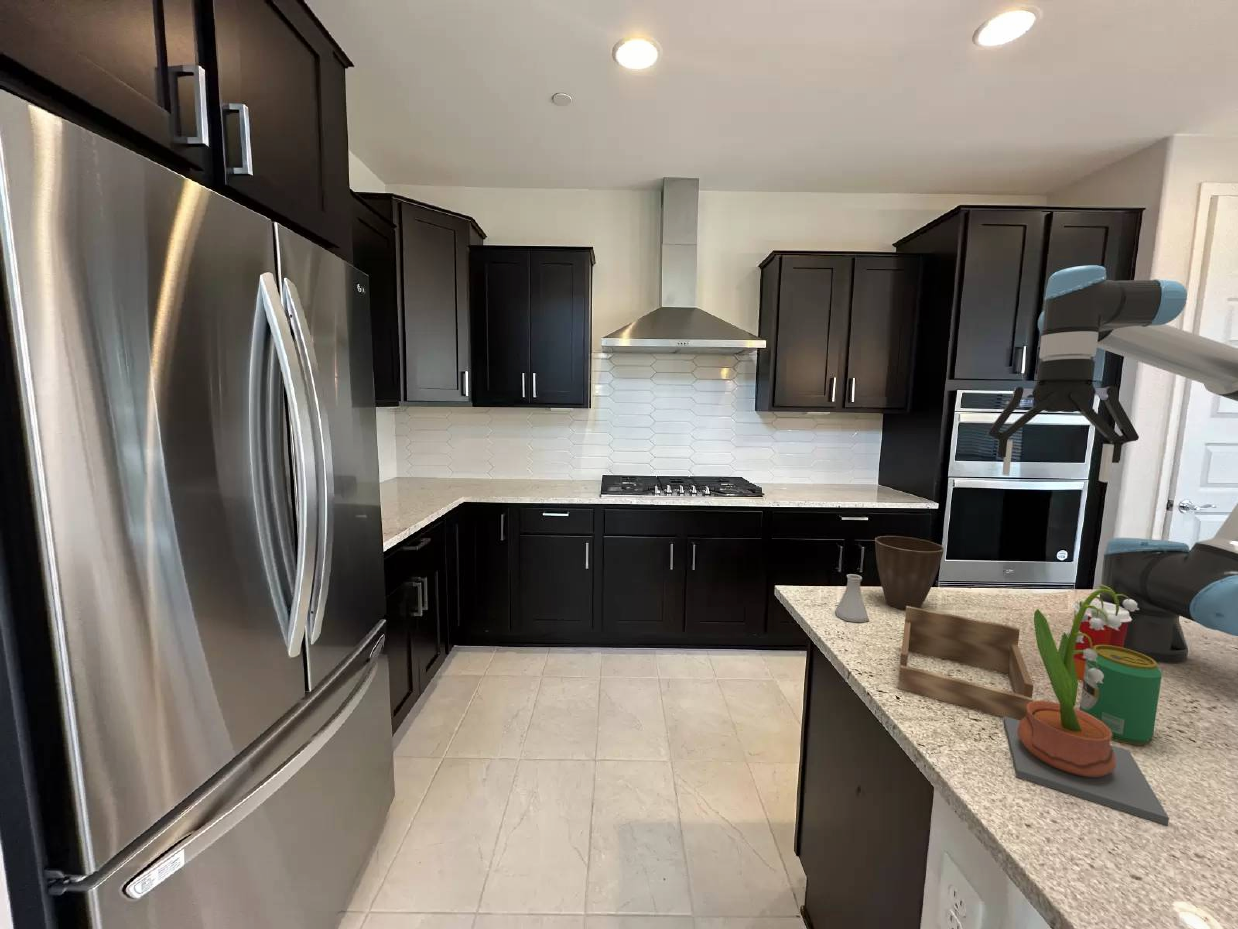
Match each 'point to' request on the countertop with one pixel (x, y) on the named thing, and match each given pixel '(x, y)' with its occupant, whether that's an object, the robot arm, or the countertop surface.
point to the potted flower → (1070, 698)
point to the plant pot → (907, 569)
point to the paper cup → (1099, 633)
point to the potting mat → (1090, 779)
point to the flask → (852, 602)
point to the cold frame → (965, 661)
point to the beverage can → (1123, 693)
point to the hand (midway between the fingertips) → (1052, 478)
